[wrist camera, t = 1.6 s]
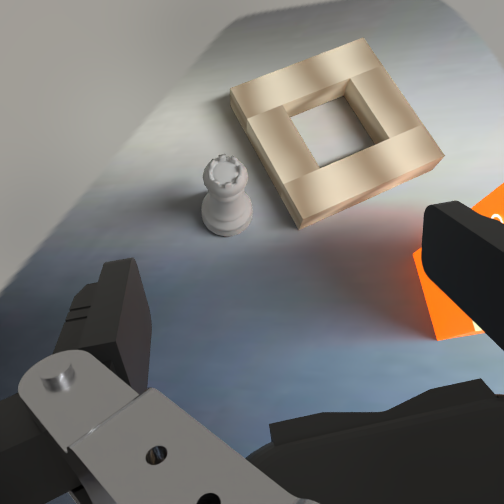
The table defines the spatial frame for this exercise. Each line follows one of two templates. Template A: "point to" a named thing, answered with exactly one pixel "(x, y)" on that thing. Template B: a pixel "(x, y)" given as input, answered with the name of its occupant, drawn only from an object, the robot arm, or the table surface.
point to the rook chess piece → (226, 197)
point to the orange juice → (439, 304)
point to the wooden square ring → (366, 109)
